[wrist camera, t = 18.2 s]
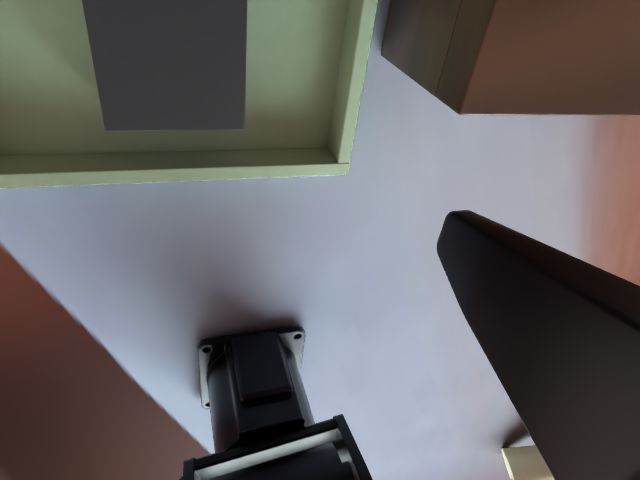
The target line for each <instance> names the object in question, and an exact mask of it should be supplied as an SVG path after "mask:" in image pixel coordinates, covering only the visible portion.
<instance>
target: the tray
mask: <svg viewBox="0 0 640 480" xmlns="http://www.w3.org/2000/svg"><path fill="white" fill-rule="evenodd" d="M377 5H378V0H247V52H246V105H245V129H244V130H189V131H106V130H105V127H104V122H103V116H102V110H101V105H100V99H99V94H98V88H97V82H96V77H95V71H94V66H93V60H92V54H91V49H90V43H89V38H88V32H87V26H86V21H85V15H84V10H83V4H82V0H0V189H6V188H30V187H55V186H80V185H105V184H129V183H154V182H179V181H204V180H228V179H253V178H278V177H303V176H327V175H348V171H349V165H350V163H349V162H350V158H351V153H352V147H353V141H354V136H355V130H356V124H357V118H358V113H359V107H360V101H361V96H362V90H363V84H364V79H365V73H366V67H367V61H368V56H369V50H370V44H371V39H372V33H373V27H374V22H375V16H376V10H377Z"/></svg>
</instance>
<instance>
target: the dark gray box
mask: <svg viewBox="0 0 640 480" xmlns="http://www.w3.org/2000/svg"><path fill="white" fill-rule="evenodd" d="M82 4H83V10H84V15H85V21H86V26H87V32H88V38H89V43H90V49H91V54H92V60H93V66H94V71H95V77H96V82H97V88H98V94H99V99H100V105H101V110H102V116H103V122H104V127H105V130H106V131H189V130H244V129H245V105H246V52H247V0H82Z"/></svg>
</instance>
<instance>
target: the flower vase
mask: <svg viewBox="0 0 640 480" xmlns="http://www.w3.org/2000/svg"><path fill="white" fill-rule="evenodd" d="M502 454H503V457H504V461H505V464H506V468H507V471H508V474H509V477H510V479H511V480H555V479H554V477H553V475H552V474H551V472H550V470H549V468H548V466H547V465H546V463H545V461H544V459H543V457H542V456H541V454H540V452H539V450H538V448H537V447H536V445H533V446H522V447H511V448H502Z"/></svg>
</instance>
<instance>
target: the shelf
mask: <svg viewBox="0 0 640 480" xmlns="http://www.w3.org/2000/svg"><path fill="white" fill-rule="evenodd" d="M381 56H383V57H384V58H385V59H387V60H388V61H389V62H391V63H392V64H393V65H395V66H396V67H397V68H398V69H400V70H401V71H402V72H404V73H405V74H406V75H408V76H409V77H410V78H412V79H413V80H414V81H415V82H417V83H418V84H419V85H421V86H422V87H423V88H425V89H426V90H427V91H429V92H430V93H431V94H432V95H434V96H435V97H437V98H438V99H439V100H441V101H442V102H443V103H445V104H446V105H447V106H449V107H450V108H451V109H452V110H454V111H455V112H456V113H458V114H459V115H640V0H391V4H390V9H389V14H388V20H387V25H386V30H385V35H384V41H383V46H382V51H381Z"/></svg>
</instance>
